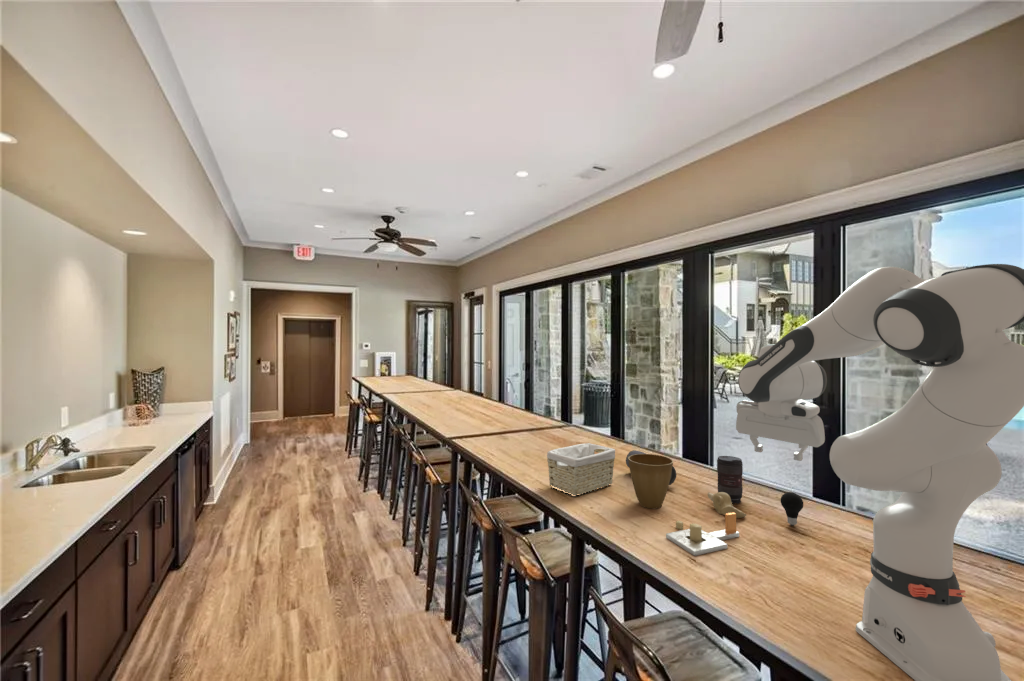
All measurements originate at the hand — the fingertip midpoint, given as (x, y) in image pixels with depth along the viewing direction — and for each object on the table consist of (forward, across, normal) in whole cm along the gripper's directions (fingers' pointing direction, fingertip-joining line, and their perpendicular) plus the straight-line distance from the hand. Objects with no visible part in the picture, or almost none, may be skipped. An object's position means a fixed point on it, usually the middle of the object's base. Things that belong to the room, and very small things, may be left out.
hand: (777, 455), depth 114 cm
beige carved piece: (+28, -19, +12) cm, 36 cm away
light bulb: (+28, -3, +20) cm, 35 cm away
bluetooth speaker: (+30, -56, +25) cm, 68 cm away
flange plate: (+25, -14, -11) cm, 30 cm away
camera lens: (+29, -25, +27) cm, 47 cm away
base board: (+26, -16, -13) cm, 33 cm away
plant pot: (+28, -41, +2) cm, 50 cm away
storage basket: (+29, -69, -2) cm, 75 cm away
